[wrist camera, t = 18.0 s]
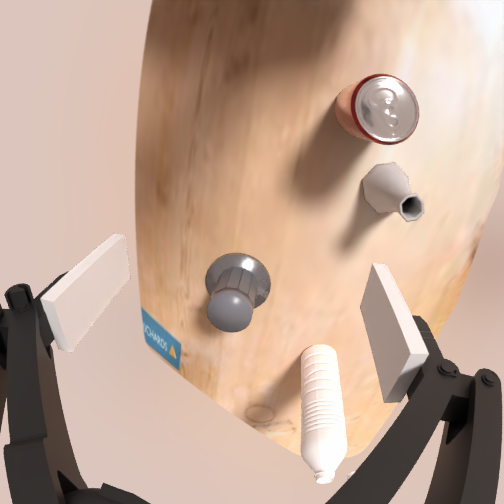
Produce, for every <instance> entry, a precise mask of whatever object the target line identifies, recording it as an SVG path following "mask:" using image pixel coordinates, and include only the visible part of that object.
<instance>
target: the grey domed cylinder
mask: <svg viewBox="0 0 504 504" xmlns="http://www.w3.org/2000/svg"><path fill="white" fill-rule="evenodd" d="M257 284H258V282H257V280H256V278H255V276H254V274H252V272H250V271H249V270H247V269H245V268H244V269H243V267H234V266H233V267H231V268H228V269H226V270H224V271H223V272H222V274H221V275H220V276H219V278H218V280H217V283H216V285H215V288H214V290H213V293H212V295H211V297H210V302H209V304H208V307H207V317H208V319H209V321H210V322H211V323H212V324H213V325H214V326H215V327H216V328H218V329H220V330H222V331H225V332H239V331H241V330H243V329H245V328H246V327H247V326H248V325H249V324H250V322H251V318H252V314H253V309H254V304H255V299H256V293H257Z"/></svg>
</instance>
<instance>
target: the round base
mask: <svg viewBox="0 0 504 504" xmlns="http://www.w3.org/2000/svg"><path fill="white" fill-rule="evenodd" d="M233 266H234V267H243V269H244V268H245V269H247V270H249V271H250V272H252V274H254V276H255V278H256V280H257V282H258V284H257V293H256V299H255V304H254V308H256V307H258V306H260V305H261V304H262V303H263V302H264V301H265V300H266V299H267V297H268V295H269V292H270V287H271V281H270V276H269V273H268V271H267V269H266V268H265V267H264V265H263V264H262V263H261V262H260V261H258V260H257V259H255V258H254V257H252V256H249V255H246V254H241V253H231V254H226V255H223V256H221V257H219V258H218V259H216V260H215V261H214V262H213V263H212V265H211V266H210V268H209V270H208V272H207V276H206V285H207V289H208V291H209V293H210V295H212V293H213V290H214V288H215V285H216V283H217V280H218V278H219V276H220V275H221V274H222V272H223V271H224V270H226V269H228V268H231V267H233Z"/></svg>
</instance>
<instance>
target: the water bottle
mask: <svg viewBox="0 0 504 504" xmlns="http://www.w3.org/2000/svg"><path fill="white" fill-rule="evenodd" d="M301 384H302V385H301V392H302V393H301V401H302V402H301V413H302V414H301V417H302V418H301V455H302V457H303V459H304V461H305V462H306V463H307V464H308V465H309V467H310V468H311V469H312V470H313V471H314V472H315V473H316V474H315V476H314V477H315V478H316V482H318V483H329V482H332V481H333V480H334V476H335V473H334V471H335V470H336V468H337V467H338V465H339V464H340V463H341V461H342V460H343V458H344V457H345V455H346V452H347V438H346V428H345V419H344V410H343V400H342V392H341V384H340V376H339V370H338V362H337V355H336V352H335V350H334V349H333V348H331V347H330V346H328V345H324V344H322V345H320V344H317V345H313V346H311V347H308V348H307V349H306V350H305V351H304V352H303V354H302V355H301ZM354 472H355V471H353V472H350V473H349V474H348V475H349V476H348V475H347V479H349V478H350V477H351V476H352V475H353V474H354ZM352 473H353V474H352Z"/></svg>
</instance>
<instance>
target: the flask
mask: <svg viewBox="0 0 504 504" xmlns="http://www.w3.org/2000/svg"><path fill="white" fill-rule="evenodd" d="M362 181H363V188H364V195H365V200H366V201H367V202H368V203H369V204H370V205H371V206H372V207H373V208H374V209H375V210H376V211H377V212H378V213H386V212H398V213H399V214H400V215H401V216H402V217H403V218H404V219H405V221H406V222H409V221H415V220H417V219H418V218H419V217H420V216H421V215H422V214H423V213H424V202H423V200H422V199H421V198H420V197H419V196H418V194H417V193H413V194H412V192H411V188H410V183H409V178H408V176H407V175H406V174H405V173H404V171H403V170H402V169H401V168H400V167H399V166H398V165H397V164H396V162H393V163H386V164H379V165H376V166H375V167H374V168H373V169H372V170H371V171H370V172H369V173H368V174H367V175H366V176H365V177H364V178H363V179H362Z"/></svg>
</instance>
